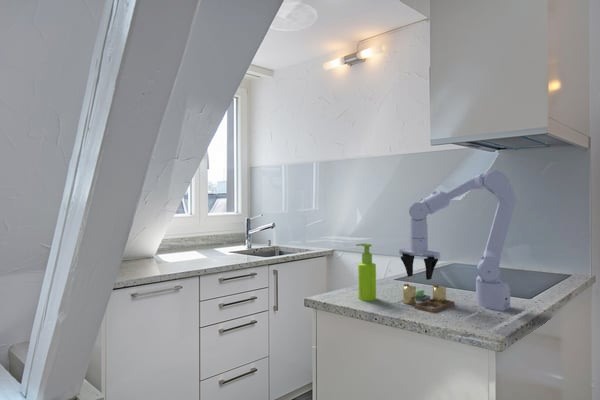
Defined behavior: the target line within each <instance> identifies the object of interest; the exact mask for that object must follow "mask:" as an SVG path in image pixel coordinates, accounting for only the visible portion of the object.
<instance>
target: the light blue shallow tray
mask: <svg viewBox="0 0 600 400" xmlns="http://www.w3.org/2000/svg"><path fill="white" fill-rule="evenodd" d="M402 302H403V299H402V300H398V301H396V302H393V304H395V305H399V306H403V307H408V308H414V305H408V304H404V303H403V304H401V303H402ZM416 303H421V301H417V300H416Z"/></svg>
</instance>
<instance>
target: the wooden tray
mask: <svg viewBox="0 0 600 400" xmlns="http://www.w3.org/2000/svg"><path fill="white" fill-rule="evenodd" d="M413 306H414V307H413V309H415V310H421V311H422V312H424V311H425V312H428V313H432V314H436V313H437V312H439V311H443V310H445V309H447V308H450V307H453V306H455V301H454V300H450V299H446V304H438V303H433V298H430V299H429V300H426V301H423V302H417V303H416V304H414V305H413Z"/></svg>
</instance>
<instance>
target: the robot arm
mask: <svg viewBox="0 0 600 400" xmlns="http://www.w3.org/2000/svg"><path fill="white" fill-rule="evenodd" d="M484 188H485V189H486V190H487V191H489V192H490V193H491V194H493V196H494V197H495V199H496V200H497V201H498V203H497V206H496V209H495V213H494V216H493V220H492V224H491V228H490V231H489V235H488V239H487V242H486V244H485V249H484V251H483V254H482V257H481V258H480V259H479V260H478V261H477V264H476V270H477V274H478V275H477V277H475V304H476V305H477V306H479V307H484V308H485V309H488V310H489V309H490V310H494V311H499V312H505V311H506V310H509V309H510V308H511V287H510V284H509V283H507V282H503V281H502V280H501V278H500V275H501V269H500V263H501V259H502V258H501V255H502V252H503V248H504V244H505V242H506V238H507V234H508V230H509V228H510V224H511V220H512V217H513V213H514V209H515V206H516V201H517V197H516V194H515V191H514V189H513V186H512V184H511V180H510V178H509V177H508V176H507V175H506V174H505V173H504V172H503V171H502V170H499V169H492V170H489V171H487V172H486V173H480V174H479V175H475V176H473V177H470V178H469V179H467V180H465V181H464V182H463V181H462V183H460V184H458V185H456V186H454V187H453V188H451V189H448V190H447V191H442V190H438V191H437V190H435V191H433V192H432V194H431V195H428V196H427V197H425V198H419V202H417V201H416V202H414V203H412V204H411V206H410V207H409V210H408V213H409V214H408V215H409V216H410V218H409V220H410V223H409V241H410V242H409V243H410V244H409V245H410V246H409V248H399V251H398V252H399V253H398V254H399V255H401V256H400V260H401V261H402V263H403V265H404V268H405V271H406V275H407V277H413V276H414V275H413V274H414V261H415V257H421V258H423V261H424V266H425V279H426V280H427V281H429V280H432V278H433V274H434V270H435V267H436V265H437V263H438V262H439V259H441V252H438V251H433V250H429V248H428V246H429V244H428V242H429V239H428V234H429V233H428V221H427V220H428V219H427V218H428V217H427V216H428V215H433V214H435V213H436V212H438V211H440V210H442V209H445V208H447V207H448V206H450V201H451V200H454V199H456V198H457V197H459V196H462V195H464V194H466V193H468V192H470V191H472V190H483V189H484Z"/></svg>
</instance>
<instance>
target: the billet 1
mask: <svg viewBox="0 0 600 400" xmlns="http://www.w3.org/2000/svg"><path fill="white" fill-rule="evenodd" d="M402 287H403V288H402V291H403V293H402V294H403V298H402V300H403V301H402V302H403V305H407V306H414V305H415V304H417V301H416V290H417V287H416V286H415V285H410V284H408V283H404V284H403V286H402Z"/></svg>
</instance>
